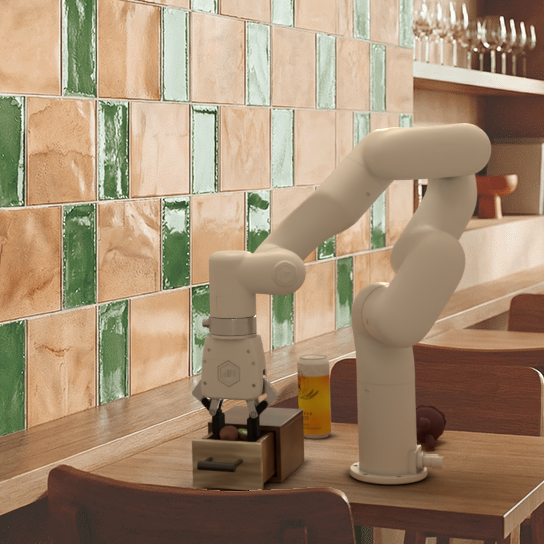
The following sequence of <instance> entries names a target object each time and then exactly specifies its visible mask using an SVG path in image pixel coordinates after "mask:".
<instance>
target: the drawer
mask: <svg viewBox="0 0 544 544" xmlns="http://www.w3.org/2000/svg"><path fill="white" fill-rule="evenodd" d="M237 431H238V429H237ZM191 459H192V460H191V463H192V464H191V465H192V487H195V488H196V487H198V488H209V489H222V490H223V489H224V490H234V491H235V490H237V491H248V490H258V489H263V490H264V484H265V483H266V482H268V481H267V480H268V479H269V478H270V477H271V476H273V475H274V474H275V473H276V472H277V461H276V431H268V430H260V435H259V437H257V440H256V441H254V442H247V440H243V439H241V438H240V437H239V436H238V437H237V439H236V440H235V441H225V440H215V434H213V433H212V432H210V433H209V434H208V433H207V434H205V435H204V436H202V438H193V439H192V440H191Z"/></svg>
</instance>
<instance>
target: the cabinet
mask: <svg viewBox="0 0 544 544" xmlns="http://www.w3.org/2000/svg"><path fill="white" fill-rule="evenodd" d="M223 412H224V414H225V426H233V427H235V428H236V429H247V418H249V410H248V406H247V405H233V406H232V407H230V408H229V409H227V410H225V411H223ZM260 430H268V431H276V461H277V472H276V473H275V474H274V475H273V476H271V477H270V478H269V479H268V480H267V481H266V482H268V483H270V482H272V483H283V482H284V481H285V480H286V479H287V478H288V477H289V476H290V475H292V473H294V472H295V471H296V470H297V469H298V468H299V467H300V466H301V465H302V464H303V463H305V439H304V438H305V437H304V429H303V409H299V408H289V407H287V408H285V407H270V406H268V407H267V408H266V409H265V410H264V411H263V412H262V413H261V414H260ZM210 432H212V419H210V420H209V421H208V422H207V434H209V433H210Z"/></svg>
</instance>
